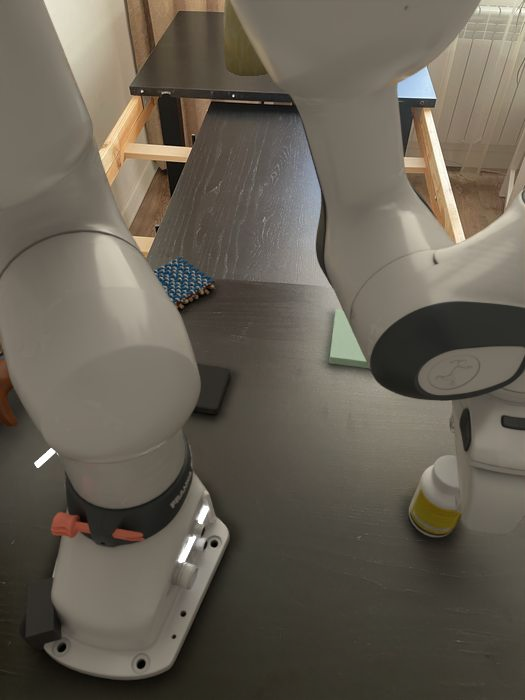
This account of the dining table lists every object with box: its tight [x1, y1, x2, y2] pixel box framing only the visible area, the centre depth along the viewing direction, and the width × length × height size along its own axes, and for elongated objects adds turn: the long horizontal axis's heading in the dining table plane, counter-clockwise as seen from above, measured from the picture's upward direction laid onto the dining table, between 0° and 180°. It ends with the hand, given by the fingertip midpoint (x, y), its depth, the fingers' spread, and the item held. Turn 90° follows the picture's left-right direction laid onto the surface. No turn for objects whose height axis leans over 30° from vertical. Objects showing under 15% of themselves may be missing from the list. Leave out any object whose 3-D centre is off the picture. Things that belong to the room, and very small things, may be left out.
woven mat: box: [153, 256, 215, 310], centre depth 91 cm, size 10×11×2 cm
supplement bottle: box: [408, 454, 461, 538], centre depth 59 cm, size 5×5×10 cm
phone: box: [193, 363, 231, 415], centre depth 76 cm, size 8×1×15 cm
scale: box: [328, 308, 371, 370], centre depth 81 cm, size 12×15×3 cm
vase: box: [222, 0, 268, 76], centre depth 156 cm, size 17×17×27 cm
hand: (460, 465), depth 55 cm, fingers open, 8 cm apart
